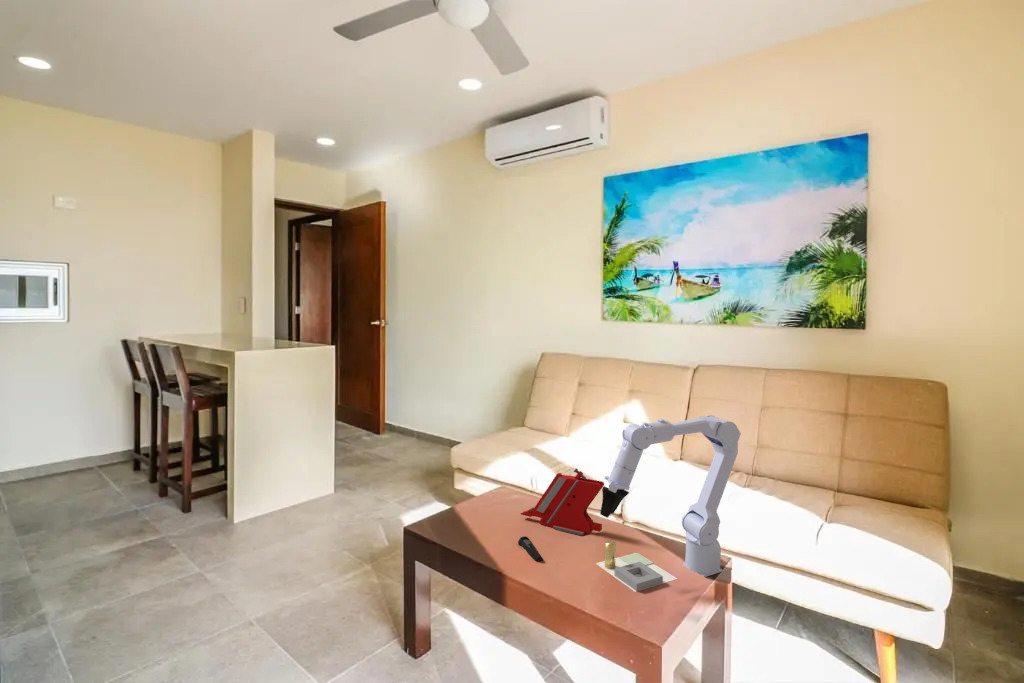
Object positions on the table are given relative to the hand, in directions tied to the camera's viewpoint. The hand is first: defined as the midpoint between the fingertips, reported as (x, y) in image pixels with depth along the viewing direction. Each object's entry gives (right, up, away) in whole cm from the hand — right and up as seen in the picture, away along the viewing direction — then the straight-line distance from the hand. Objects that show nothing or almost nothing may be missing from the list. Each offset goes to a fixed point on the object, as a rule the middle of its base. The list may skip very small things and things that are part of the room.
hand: (606, 514), depth 142 cm
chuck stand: (+9, -18, +5) cm, 21 cm away
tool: (-10, -17, +36) cm, 40 cm away
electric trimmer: (-20, -18, +17) cm, 31 cm away
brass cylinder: (+2, -17, +7) cm, 19 cm away
